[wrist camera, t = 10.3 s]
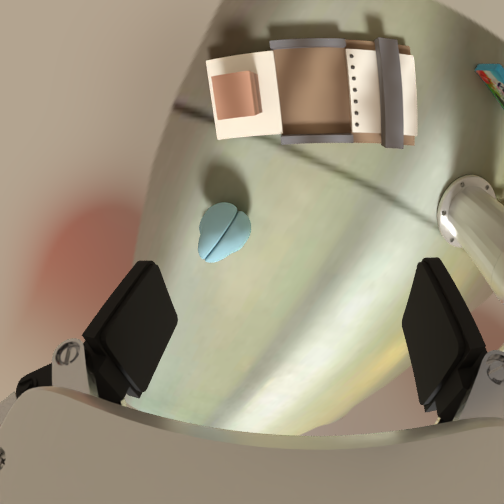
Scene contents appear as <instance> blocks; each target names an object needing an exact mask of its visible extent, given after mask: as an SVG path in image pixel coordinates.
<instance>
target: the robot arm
mask: <svg viewBox="0 0 504 504" xmlns="http://www.w3.org/2000/svg"><path fill="white" fill-rule="evenodd" d="M437 222H438V227H439V230H440V233H441V234H442V236H443V237H444V239H445V240H446V241H447V242H448V243H449V244H451V245H453V246H455V247H459V248H463V249H464V250H465V251H466V253H467V254H468V255H469V257H470V258H471V259H472V261H473V262H474V264H475V265H476V266H477V268H478V269H479V271H480V272H481V274H482V275H483V277H484V278H485V279H486V281H487V283H488V284H489V286H490V287H491V289H492V290H493V292H494V293H495V295H496V296H497V298H498V299H499V301H500V302H501V303H502V304H503V305H504V205H502V204H501V203H500V202H499V201H497V200H496V196H495V193H494V190H493V188H492V187H491V185H490V184H489V183H488V182H487V181H486V180H485V179H483V178H482V177H479V176H477V175H465V176H463V177H460V178H458V179H457V180H455V181H454V182H453V183H452V184H451V185H450V186H449V187H448V188H447V189H446V191H445V192H444V194H443V196H442V198H441V201H440V203H439V207H438V212H437ZM177 322H178V318H177V314H176V312H175V309H174V306H173V304H172V301H171V299H170V296H169V293H168V291H167V288H166V285H165V283H164V280H163V277H162V274H161V272H160V269H159V266H158V265H155V263H154V262H153V261H138V262H137V263H136V264H135V265H134V266H133V268H132V269H131V270H130V271H129V273H128V274H127V275H126V277H125V278H124V279H123V280H122V282H121V283H120V284H119V286H118V287H117V288H116V289H115V291H114V292H113V293H112V295H111V296H110V297H109V298H108V300H107V301H106V303H105V304H104V305H103V306H102V308H101V309H100V311H99V312H98V313H97V315H96V316H95V318H94V319H93V320H92V322H91V323H90V324H89V326H88V327H87V329H86V330H85V331H84V333H83V335H82V336H83V337H84V339H85V340H86V341H85V342H84V343H82V342H81V340H79V339H76V338H74V339H73V338H72V339H68V340H66V341H64V342H62V343H61V344H60V345H59V346H58V347H57V348H56V349H55V352H54V353H53V357H52V363H51V364H49V365H47V366H44V367H42V368H40V369H38V370H36V371H34V372H32V373H29V374H27V375H26V376H24V377H23V378H21V380H20V381H19V383H18V385H17V388H16V393H15V392H13V393H12V394H10V395H9V396H8V397H7V398H6V399H5V400H3V401H2V402H1V403H0V504H504V344H503V345H502V346H501V347H500V348H499V350H493V351H490V352H488V353H487V351H486V348H485V346H486V345H485V343H484V341H483V339H482V336H481V334H480V332H479V330H478V327H477V326H476V323H475V321H474V319H473V317H472V315H471V313H470V311H469V309H468V307H467V305H466V303H465V301H464V299H463V298H462V296H461V294H460V292H459V290H458V288H457V287H456V285H455V283H454V281H453V280H452V278H451V276H450V274H449V273H448V271H447V269H446V268H445V266H444V265H443V263H442V261H441V260H440V259H439V258H424V259H423V260H422V262H419V263H418V265H417V269H416V273H415V277H414V281H413V284H412V288H411V292H410V295H409V299H408V302H407V305H406V309H405V312H404V315H403V318H402V328H403V332H404V335H405V339H406V343H407V347H408V351H409V355H410V359H411V363H412V368H413V372H414V377H415V382H416V387H417V392H418V396H419V402H420V404H421V405H424V409H425V412H430V411H435V410H437V414H438V419H437V421H436V422H435V424H434V425H431V426H425V427H419V428H413V429H406V430H399V431H391V432H382V433H373V434H361V435H345V436H290V435H272V434H260V433H249V432H241V431H233V430H226V429H219V428H213V427H207V426H202V425H196V424H191V423H186V422H182V421H177V420H173V419H168V418H164V417H160V416H156V415H153V414H149V413H145V412H142V411H138V410H135V409H131V408H128V407H127V405H126V402H125V398H124V397H125V395H126V393H127V394H128V395H129V396H133V397H136V398H140V396H141V394H142V392H145V391H146V389H147V388H148V385H149V383H150V381H151V379H152V376H153V374H154V372H155V370H156V368H157V366H158V363H159V361H160V359H161V357H162V355H163V353H164V351H165V348H166V346H167V344H168V342H169V340H170V338H171V336H172V334H173V332H174V329H175V327H176V325H177Z"/></svg>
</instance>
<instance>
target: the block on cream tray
mask: <svg viewBox="0 0 504 504" xmlns="http://www.w3.org/2000/svg"><path fill="white" fill-rule="evenodd" d="M206 65H207V72H208V79H209V86H210V93H211V99H212V106H213V113H214V119H215V126H216V132H217V139H218V140H220V139H228V138H237V137H247V136H258V135H270V134H283V126H282V117H281V107H280V98H279V90H278V81H277V73H276V66H275V58H274V52H273V51H264V52H256V53H248V54H241V55H234V56H228V57H223V58H217V59H212V60H207V61H206Z"/></svg>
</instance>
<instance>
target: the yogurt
mask: <svg viewBox="0 0 504 504" xmlns="http://www.w3.org/2000/svg"><path fill="white" fill-rule="evenodd" d="M475 72H476V73H477V74H478V75H479V76H480V78H481V79H482V80H483V81H484V83H485V84H486V85H487V87H488V88H489V89H490V91H491V92H492V93H493V95H494V96H495V98H496V99H497V100H498V102H499V103H500V105H501V106H502V108H503V109H504V68H503V67H502V66H501V65H500V64H478V66H477V67H476V69H475Z"/></svg>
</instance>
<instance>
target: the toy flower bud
mask: <svg viewBox="0 0 504 504" xmlns="http://www.w3.org/2000/svg"><path fill="white" fill-rule="evenodd" d="M199 230H200V234H201V235H200V238H199V243H198V252H199V255H200V257H201V258H202V259H205V261H206V262H217V261H220V260H222V259H223V258H225V257H227V256H228V255H230V254H231V253H233V252H236V251H238V250H239V249H241V248H242V246H243V245H244V244H245V243H246V241H247V240H248V238H249V236H250V233H251V223H250V220H249V218H248V216H247V215H246V214H245V213H244V212H242V211H238V212H237V208H236V207H235V206H234V205H233V204H231V203H227V202H222V203H217V204H215V205H213V206H211V207H210V208H209V209H208V210H207V211H206V212H205V214H204V216H203V217H202V219H201V222H200V226H199Z"/></svg>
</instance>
